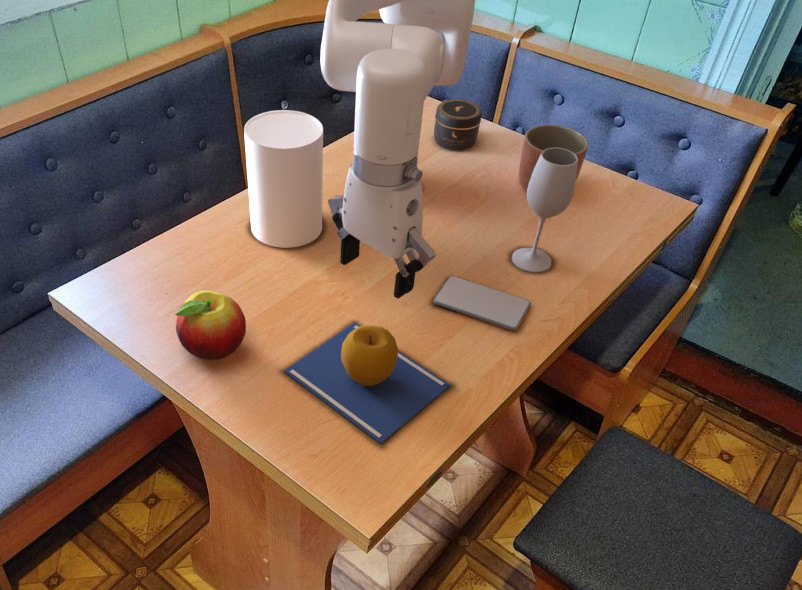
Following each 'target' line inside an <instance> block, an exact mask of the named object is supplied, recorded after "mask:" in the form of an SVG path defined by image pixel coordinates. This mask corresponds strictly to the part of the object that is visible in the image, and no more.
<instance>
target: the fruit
mask: <svg viewBox="0 0 802 590" xmlns="http://www.w3.org/2000/svg"><path fill="white" fill-rule="evenodd" d="M181 305H182V306H180V307H179V309H178V310H177V312H176V313H175V314H174V315H175V317H176V321H175V332H176V335H177V338H178V340H179V343H180V345H181V346H182V347H183V348H184V349H185V351H187V352H188V353H189V354H190V355H191V356H194V357H196V358H198V359H200V360H205V361H218V360H222V359H224V358H227V357H228V356H230V355H232V354H234V353H235V351H237V350H238V348H239V347H241V345H242V343H243V340H244V339H245V336H246V333H247V319H246V316H245V314H244V312H243V310H242V308H241V306H240V305H239V303H238V302H237V301H236V300H234V299H233V298H232V297H230V296H228V295H227V294H224V293H222V292H218V291H214V290H208V289H204V290H198V291H196V292H194V293H193V294H191V295H189V297H188V298H186V300H185V301H184V302H183V303H182V304H181Z"/></svg>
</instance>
